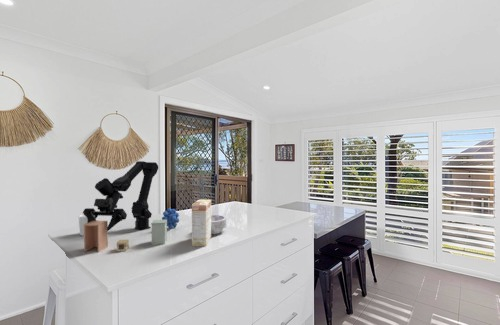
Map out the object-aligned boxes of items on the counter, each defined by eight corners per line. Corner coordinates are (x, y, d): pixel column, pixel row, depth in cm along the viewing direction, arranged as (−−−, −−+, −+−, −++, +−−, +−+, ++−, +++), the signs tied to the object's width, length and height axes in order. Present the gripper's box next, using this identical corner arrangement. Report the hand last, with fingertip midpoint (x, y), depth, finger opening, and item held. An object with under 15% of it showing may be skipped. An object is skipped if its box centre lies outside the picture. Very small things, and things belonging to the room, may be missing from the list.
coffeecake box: (198, 236, 138) (198, 199, 138) (211, 236, 138) (211, 199, 137) (191, 246, 123) (191, 204, 123) (206, 246, 123) (206, 204, 122)
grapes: (167, 232, 145) (167, 210, 145) (159, 230, 149) (159, 209, 149) (183, 227, 155) (183, 207, 154) (176, 225, 159) (176, 205, 158)
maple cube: (119, 248, 120) (119, 239, 120) (128, 247, 121) (128, 239, 120) (116, 251, 116) (116, 242, 116) (126, 251, 117) (126, 242, 116)
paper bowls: (192, 233, 143) (192, 219, 142) (209, 227, 156) (209, 213, 156) (215, 237, 136) (215, 222, 135) (231, 230, 149) (231, 216, 149)
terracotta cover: (93, 246, 122) (93, 220, 122) (107, 246, 122) (107, 220, 122) (84, 251, 116) (83, 224, 115) (98, 251, 115) (98, 224, 115)
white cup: (88, 236, 137) (87, 217, 137) (75, 235, 138) (74, 216, 138) (99, 232, 145) (99, 214, 144) (87, 231, 146) (87, 213, 146)
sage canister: (154, 240, 131) (153, 220, 131) (167, 239, 132) (167, 219, 132) (151, 244, 125) (151, 223, 125) (165, 244, 126) (165, 222, 126)
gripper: (84, 191, 125) (68, 220, 114) (123, 191, 124) (110, 221, 113) (95, 204, 133) (81, 233, 122) (131, 205, 132) (120, 233, 121)
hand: (97, 230), depth 120 cm, fingers open, 9 cm apart
